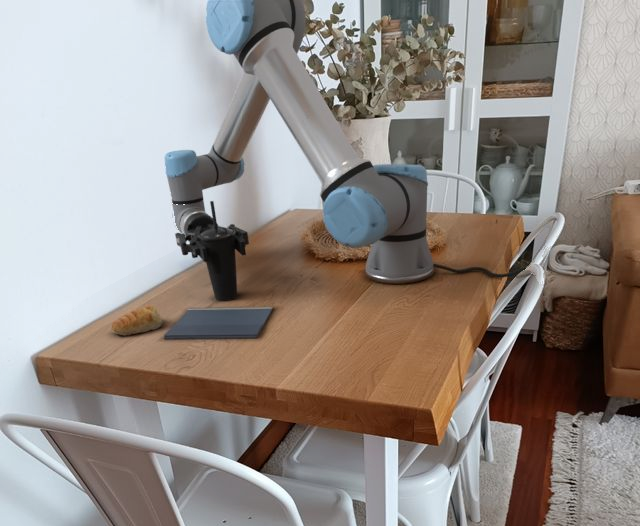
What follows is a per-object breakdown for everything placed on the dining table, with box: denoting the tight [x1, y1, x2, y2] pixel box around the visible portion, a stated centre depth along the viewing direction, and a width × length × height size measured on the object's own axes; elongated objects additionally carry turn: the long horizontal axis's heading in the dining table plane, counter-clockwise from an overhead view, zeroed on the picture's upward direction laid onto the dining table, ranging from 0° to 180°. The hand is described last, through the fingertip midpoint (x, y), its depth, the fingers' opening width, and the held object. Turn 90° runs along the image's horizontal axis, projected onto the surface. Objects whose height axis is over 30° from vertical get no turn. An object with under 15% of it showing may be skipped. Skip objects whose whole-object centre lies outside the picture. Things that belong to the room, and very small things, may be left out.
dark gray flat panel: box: [163, 306, 274, 340], centre depth 121 cm, size 18×15×1 cm
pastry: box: [111, 304, 163, 336], centre depth 121 cm, size 9×7×4 cm
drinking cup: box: [198, 200, 238, 302], centre depth 129 cm, size 8×8×20 cm
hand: (224, 251), depth 125 cm, fingers open, 7 cm apart
